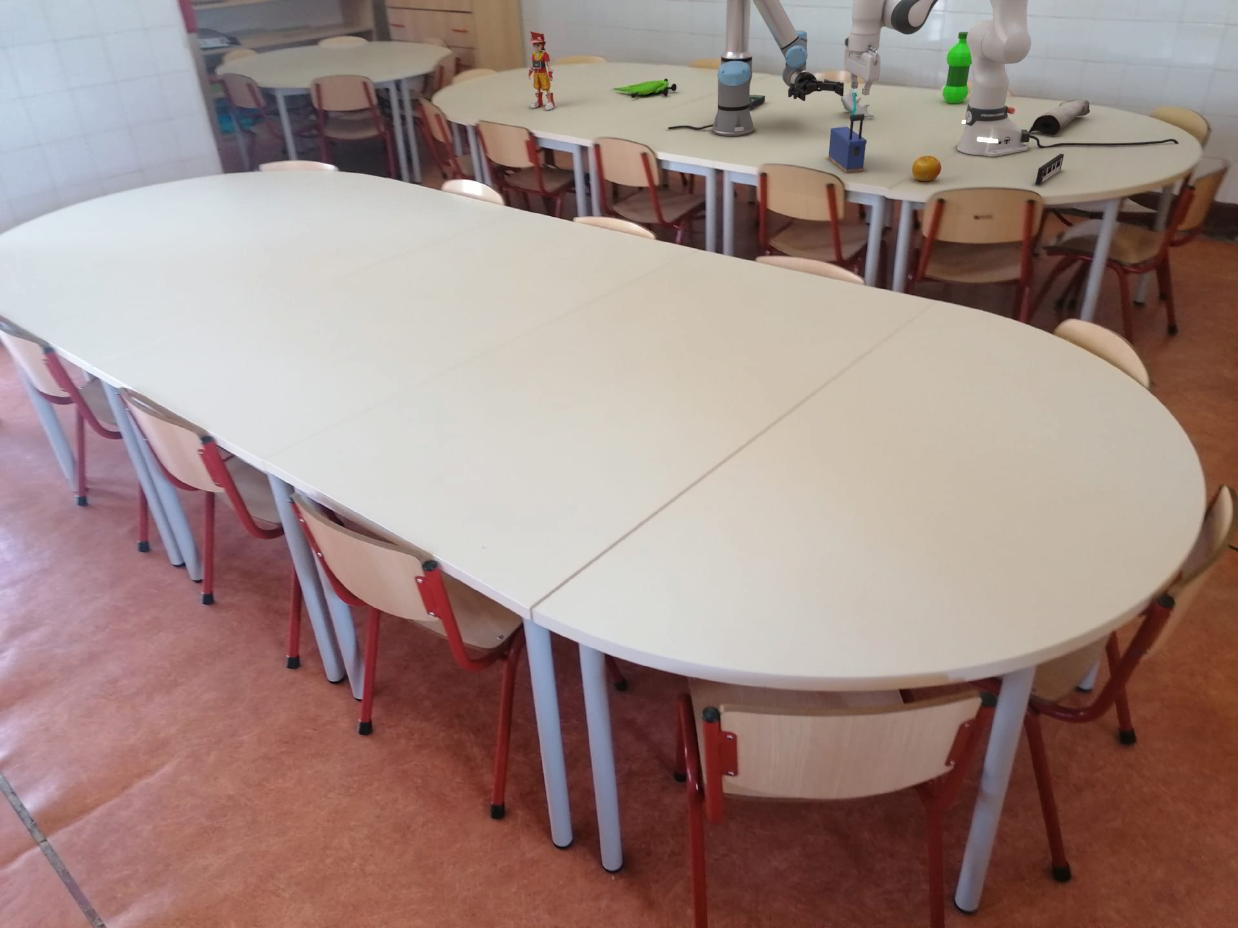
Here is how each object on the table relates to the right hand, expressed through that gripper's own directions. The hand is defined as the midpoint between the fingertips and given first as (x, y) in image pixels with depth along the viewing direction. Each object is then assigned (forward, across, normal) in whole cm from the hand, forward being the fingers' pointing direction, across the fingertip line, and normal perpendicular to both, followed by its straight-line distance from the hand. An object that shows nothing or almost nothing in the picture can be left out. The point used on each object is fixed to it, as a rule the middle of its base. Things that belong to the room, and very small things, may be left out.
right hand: (859, 91), depth 278 cm
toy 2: (+24, +135, +46) cm, 145 cm away
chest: (+24, +6, 0) cm, 25 cm away
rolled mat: (+24, +26, -87) cm, 94 cm away
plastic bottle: (+24, +70, -68) cm, 101 cm away
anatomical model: (+24, +64, -25) cm, 73 cm away
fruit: (+24, -17, -17) cm, 34 cm away
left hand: (+8, +33, -1) cm, 34 cm away
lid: (+15, +6, 0) cm, 16 cm away
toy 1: (+24, +123, +91) cm, 155 cm away
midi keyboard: (+24, -26, -52) cm, 64 cm away
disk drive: (+24, +94, +10) cm, 98 cm away
